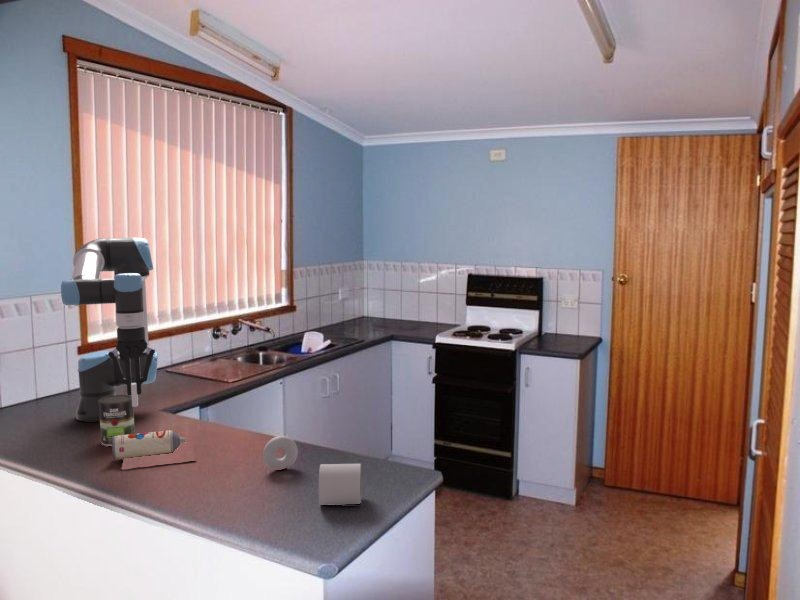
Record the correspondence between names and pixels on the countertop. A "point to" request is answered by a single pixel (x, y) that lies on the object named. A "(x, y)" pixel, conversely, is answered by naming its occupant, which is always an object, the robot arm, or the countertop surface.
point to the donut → (276, 444)
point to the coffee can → (115, 417)
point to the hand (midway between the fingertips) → (135, 405)
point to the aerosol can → (145, 444)
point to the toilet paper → (340, 484)
